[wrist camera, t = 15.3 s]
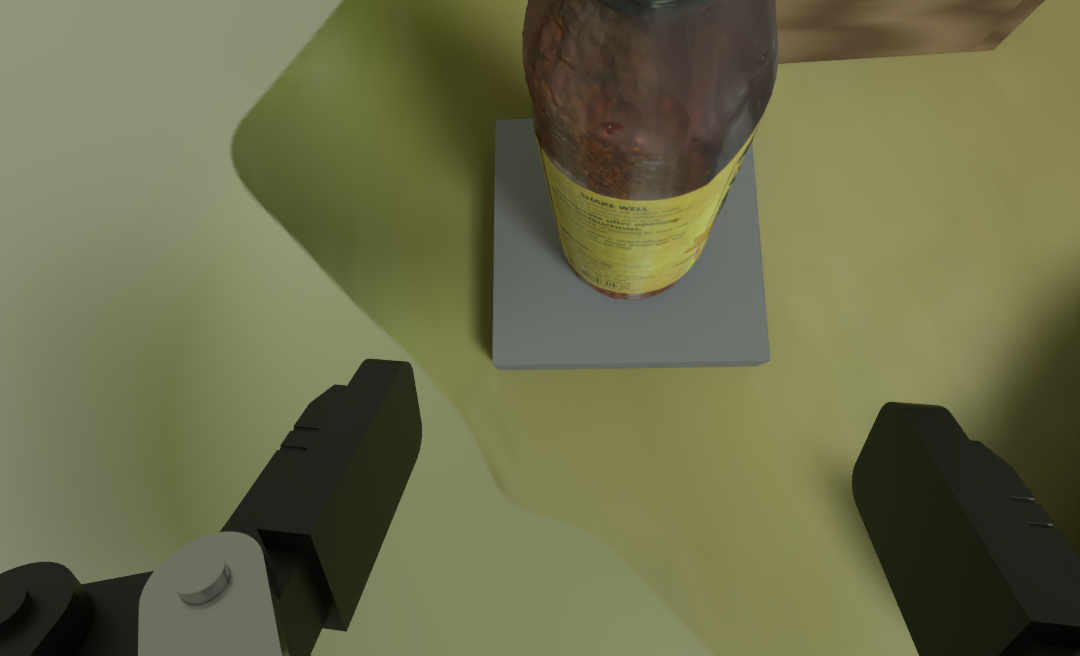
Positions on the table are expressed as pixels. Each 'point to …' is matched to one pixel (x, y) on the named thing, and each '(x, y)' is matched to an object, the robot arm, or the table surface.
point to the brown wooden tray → (893, 27)
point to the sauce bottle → (644, 126)
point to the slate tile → (603, 322)
